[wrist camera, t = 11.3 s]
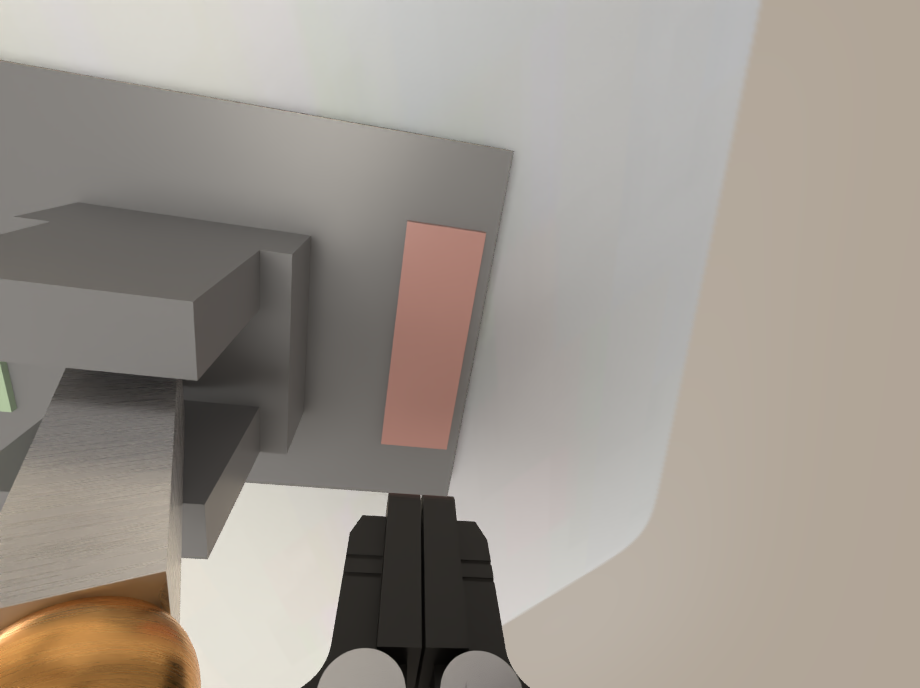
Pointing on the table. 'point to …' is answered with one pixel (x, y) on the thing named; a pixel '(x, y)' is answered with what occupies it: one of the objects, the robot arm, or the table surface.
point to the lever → (98, 541)
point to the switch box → (244, 281)
